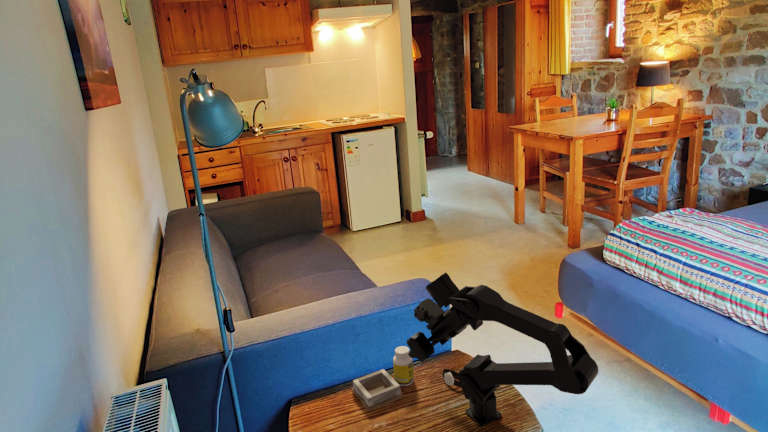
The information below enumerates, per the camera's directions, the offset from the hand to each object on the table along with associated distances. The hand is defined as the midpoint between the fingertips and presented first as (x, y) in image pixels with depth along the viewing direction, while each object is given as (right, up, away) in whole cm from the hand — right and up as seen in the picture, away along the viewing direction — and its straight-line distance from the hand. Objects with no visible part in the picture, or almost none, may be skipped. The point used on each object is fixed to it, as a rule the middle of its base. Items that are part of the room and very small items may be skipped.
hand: (420, 347), depth 129 cm
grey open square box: (-11, -13, +3) cm, 18 cm away
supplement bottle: (-4, -11, +8) cm, 14 cm away
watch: (+10, -11, +5) cm, 16 cm away
